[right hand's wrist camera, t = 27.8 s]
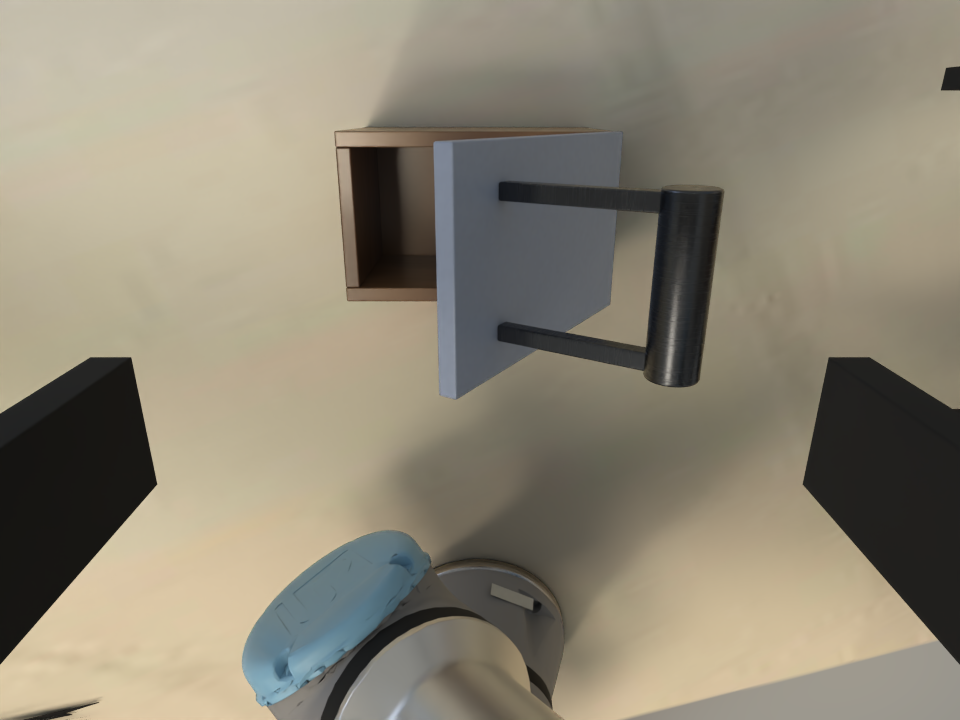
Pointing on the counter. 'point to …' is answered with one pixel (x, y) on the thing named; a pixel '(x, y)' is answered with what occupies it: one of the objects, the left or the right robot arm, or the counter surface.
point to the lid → (560, 257)
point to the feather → (58, 714)
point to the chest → (398, 205)
